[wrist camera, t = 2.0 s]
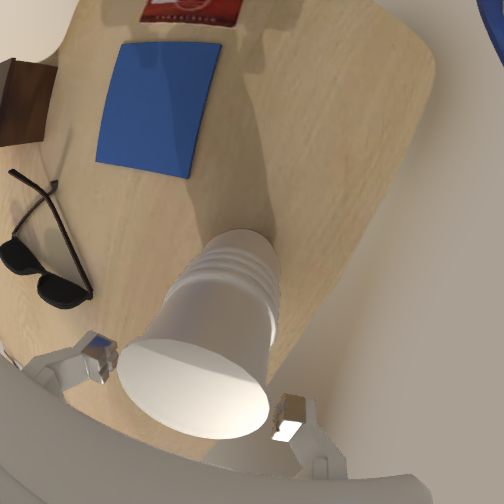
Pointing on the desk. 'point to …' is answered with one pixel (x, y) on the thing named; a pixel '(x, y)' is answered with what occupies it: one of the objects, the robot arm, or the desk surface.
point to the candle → (210, 342)
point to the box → (24, 101)
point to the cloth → (156, 105)
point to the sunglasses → (26, 263)
